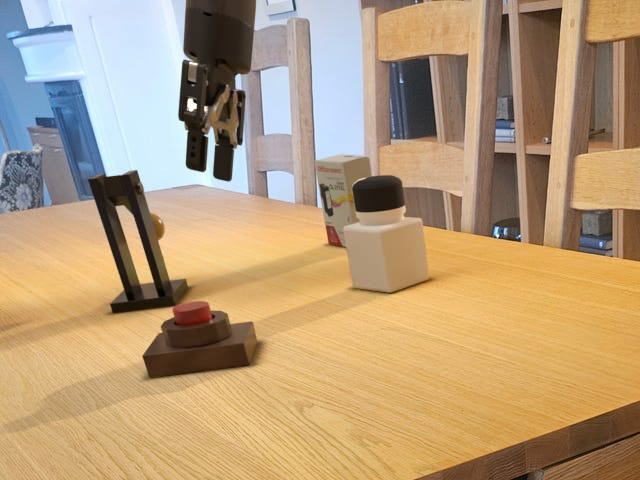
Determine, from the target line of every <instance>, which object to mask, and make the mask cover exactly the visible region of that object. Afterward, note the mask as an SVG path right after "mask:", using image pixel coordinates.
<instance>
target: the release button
mask: <svg viewBox="0 0 640 480" xmlns="http://www.w3.org/2000/svg"><path fill="white" fill-rule="evenodd" d="M171 311H172V314H173V317H175V321H176V324H177V326H189V325H196V324H201V323H205V322H208V321H210V320H212V319H213V317H212V314H211V307H210V303H209V302H208V301H205V300H195V301H189V302H184V303H180V304H176V305H175V306H173V307H172V310H171Z"/></svg>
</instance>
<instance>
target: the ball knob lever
mask: <svg viewBox="0 0 640 480" xmlns="http://www.w3.org/2000/svg"><path fill="white" fill-rule="evenodd" d="M121 175H122V174H116V175H107V176H106V177H103V180H104V185H105V191H106V196H107V198H108V199H109V200H110V201H111V202H112V203H113V204H114V205H115V207H121V206H124V207H125V208H126V210H128V212H129V213H130V214H131V215H132V216H133V213H132V209H131V206H130V203H129V200H128V196H127V193H126V190H125V187H124V183H123V180H122V177H121ZM150 215H151V218H152V222H153V225H154V228H155V232H156V235H157V239H158V241H160V240H161V239H162V238H163V237H164V235H165V232H166V227H165V226H166V225H165V223H164V221H163V220H162V218H161V217H160V216H159V215H157V214H156V213H153V212H150Z"/></svg>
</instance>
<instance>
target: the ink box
mask: <svg viewBox="0 0 640 480" xmlns="http://www.w3.org/2000/svg"><path fill="white" fill-rule="evenodd" d="M313 163H314V168H315V174H316V178H317V179H316V180H317V185H318V190H319V196H320V203H321V209H322V214H323V220H324V221H323V222H324V226H325V231H326V236H327V243H328V245H333V246H336V247H337V246H338V247H343V248H346V244H345V238H344V232H343V228H344V227H345V226H348V225H351V224H355V223H358V222H360V220H359V219H358V218H357V217H356V211H355V205H354V199H353V193H352V186H353V184H354V183H355V182H356V181H358V180H359V179H362V178H366V177H371V176H373V173H372V166H371V165H372V164H371V158H370V157H369V156H368V155H363V154H362V155H360V154H346V153H345V154H343V153H341V154H335V155H331V156H328V157H324V158H323V157H322V158H320V159H315V160H314V161H313Z"/></svg>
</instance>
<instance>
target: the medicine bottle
mask: <svg viewBox="0 0 640 480" xmlns="http://www.w3.org/2000/svg"><path fill="white" fill-rule="evenodd" d="M352 193H353V199H354V205H355V211H356V217H357V218H358V219H359V220H360V222H358V223H355V224H351V225H348V226H345V227H344V228H343V232H344V238H345V244H346V247H345V248H346V255H347V260H348V266H349V270H350V271H349V273H350V278H351V283H352V287H353V288H354V289H360V290H366V291H367V290H368V291H374V292H381V293H387V294H391V293H393V292H397V291H399V290H403V289H406V288H409V287H412V286H414V285H417V284H420V283H423V282H425V281H428V280H429V279H430V273H429V272H430V271H429V264H428V256H427V255H428V254H427V247H426V240H425V238H426V237H425V231H424V223H423V219H422V217H421V218H420V217H411V216H405V215H404V214H405V213H406V212H407V210H406V202H405V194H404V187H403V181H402V180H401V178H400V177H399V176H398V177H397V176H395V175H391V174H385V175H384V174H382V175H372V176H371V177H366V178H362V179H359V180H358V181H356V182H355V183H354V184H353V186H352Z"/></svg>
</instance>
